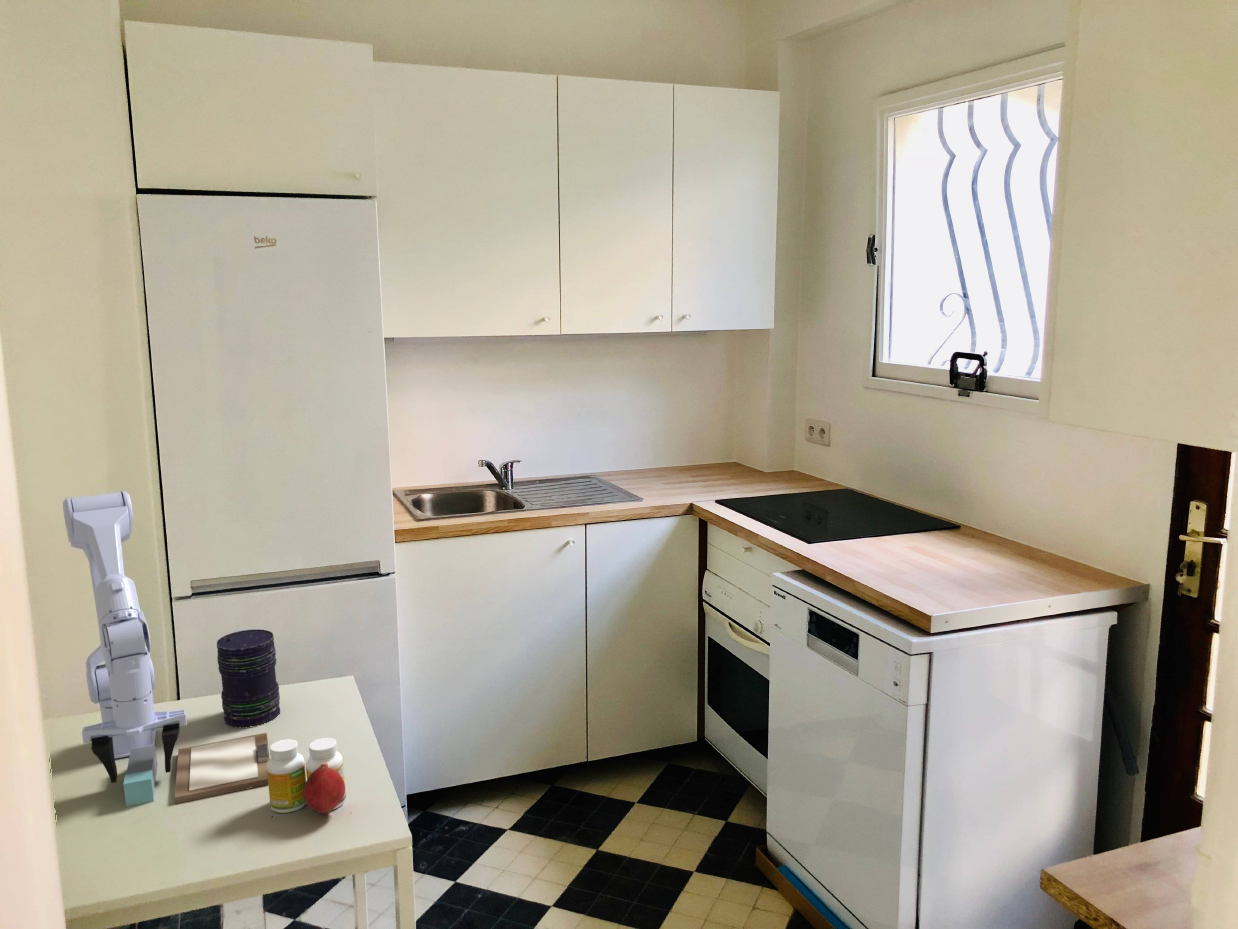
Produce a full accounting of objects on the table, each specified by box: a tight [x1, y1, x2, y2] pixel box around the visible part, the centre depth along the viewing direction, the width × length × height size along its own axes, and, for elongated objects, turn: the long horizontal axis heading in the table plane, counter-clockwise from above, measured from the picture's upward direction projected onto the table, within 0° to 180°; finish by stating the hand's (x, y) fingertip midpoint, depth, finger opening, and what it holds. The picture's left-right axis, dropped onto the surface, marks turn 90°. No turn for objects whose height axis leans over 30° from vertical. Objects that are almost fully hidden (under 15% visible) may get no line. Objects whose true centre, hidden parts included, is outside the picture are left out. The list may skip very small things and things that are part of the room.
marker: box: [122, 744, 158, 808], centre depth 151 cm, size 14×4×4 cm, turn 23°
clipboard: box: [174, 732, 271, 804], centre depth 155 cm, size 17×14×2 cm
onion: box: [304, 763, 346, 814], centre depth 140 cm, size 6×6×8 cm
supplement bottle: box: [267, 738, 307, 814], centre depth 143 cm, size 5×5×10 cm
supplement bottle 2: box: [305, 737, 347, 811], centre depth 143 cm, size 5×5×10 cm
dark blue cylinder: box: [216, 628, 281, 729], centre depth 173 cm, size 10×10×15 cm
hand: (141, 774), depth 150 cm, fingers open, 7 cm apart
